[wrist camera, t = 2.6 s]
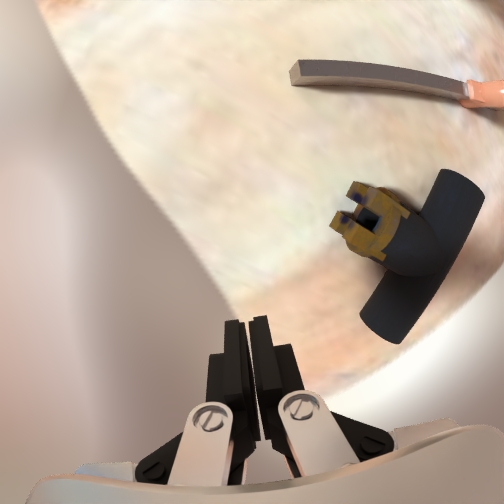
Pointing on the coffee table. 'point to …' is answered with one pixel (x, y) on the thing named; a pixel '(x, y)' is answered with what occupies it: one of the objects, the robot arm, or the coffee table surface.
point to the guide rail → (398, 81)
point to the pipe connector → (408, 246)
